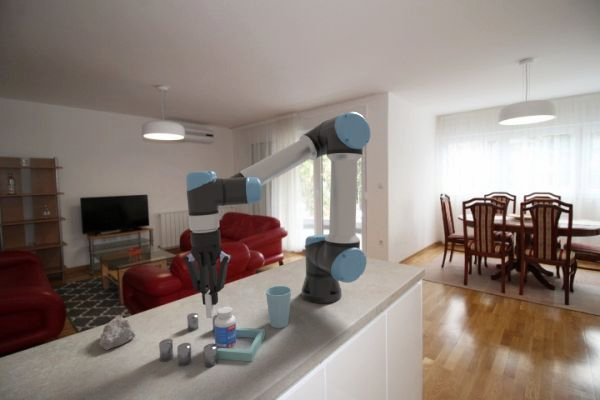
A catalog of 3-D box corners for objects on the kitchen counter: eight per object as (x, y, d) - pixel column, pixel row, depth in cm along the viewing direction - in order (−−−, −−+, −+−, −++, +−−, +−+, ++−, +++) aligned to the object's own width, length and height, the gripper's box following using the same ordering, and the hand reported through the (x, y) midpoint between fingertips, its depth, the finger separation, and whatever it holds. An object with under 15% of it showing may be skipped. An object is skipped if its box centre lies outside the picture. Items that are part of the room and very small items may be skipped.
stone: (100, 354, 71) (98, 332, 71) (98, 338, 79) (97, 318, 79) (136, 343, 76) (135, 322, 76) (131, 329, 84) (130, 310, 84)
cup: (291, 316, 90) (290, 285, 89) (292, 329, 82) (291, 294, 81) (267, 318, 89) (266, 286, 88) (266, 331, 81) (265, 296, 81)
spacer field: (241, 328, 83) (241, 315, 83) (212, 369, 65) (212, 352, 65) (192, 324, 86) (191, 311, 85) (150, 363, 67) (149, 347, 67)
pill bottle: (231, 352, 71) (229, 315, 70) (211, 351, 72) (210, 314, 71) (239, 340, 76) (238, 306, 76) (221, 339, 77) (219, 304, 77)
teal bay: (264, 336, 78) (264, 329, 78) (251, 361, 67) (251, 353, 67) (233, 333, 80) (233, 327, 80) (216, 358, 69) (215, 350, 69)
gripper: (233, 226, 77) (239, 309, 79) (190, 227, 79) (196, 308, 81) (222, 232, 69) (228, 323, 71) (174, 233, 71) (181, 321, 73)
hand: (211, 315), depth 76 cm, fingers closed
